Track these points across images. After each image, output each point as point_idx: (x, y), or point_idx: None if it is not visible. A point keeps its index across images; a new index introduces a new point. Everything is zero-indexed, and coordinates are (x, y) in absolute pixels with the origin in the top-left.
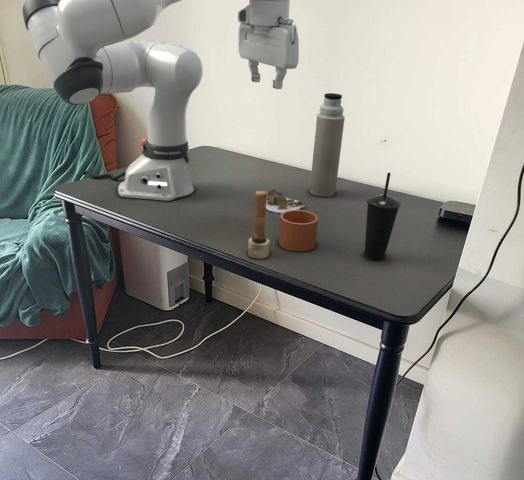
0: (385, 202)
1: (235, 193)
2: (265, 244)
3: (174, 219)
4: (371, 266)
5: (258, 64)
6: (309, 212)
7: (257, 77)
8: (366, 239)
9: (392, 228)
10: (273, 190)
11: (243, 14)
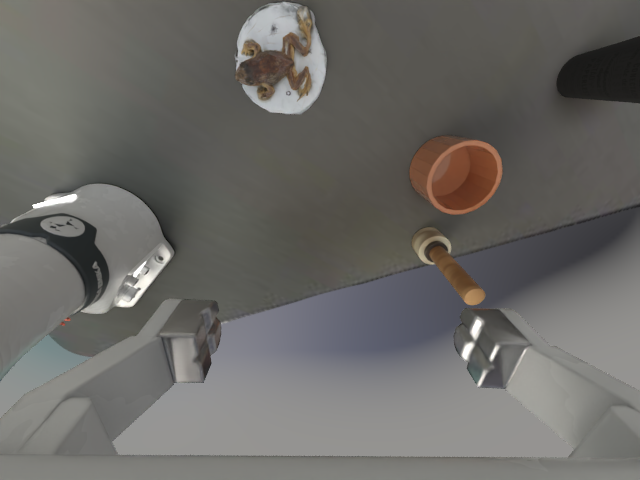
0: None
1: (167, 118)
2: (450, 250)
3: (254, 277)
4: (587, 114)
5: (92, 408)
6: (464, 145)
7: (206, 338)
8: (592, 98)
9: None
10: (246, 67)
11: None
